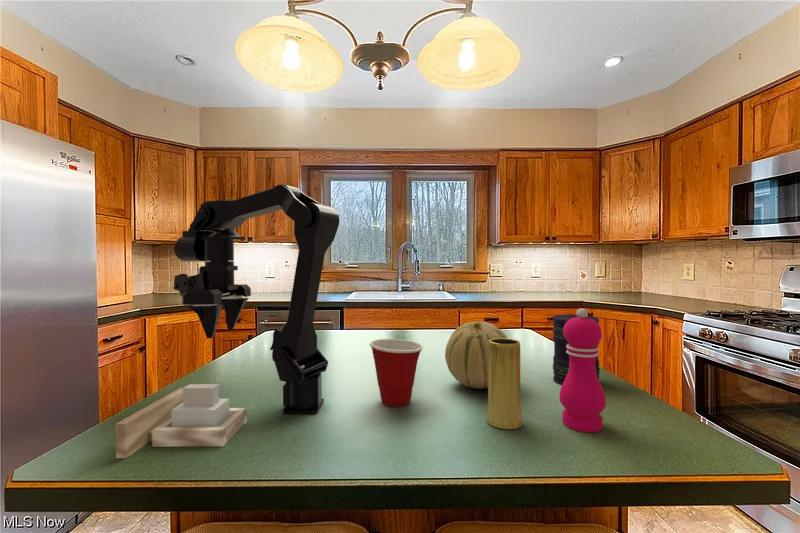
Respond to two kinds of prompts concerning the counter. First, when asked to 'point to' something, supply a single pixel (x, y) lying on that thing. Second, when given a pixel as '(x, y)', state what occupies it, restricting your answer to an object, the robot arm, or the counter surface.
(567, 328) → the pepper mill
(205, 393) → the grey stepped block
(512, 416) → the vase
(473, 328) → the cantaloupe
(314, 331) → the robot arm
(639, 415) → the counter surface
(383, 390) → the plastic cup
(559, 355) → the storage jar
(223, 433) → the stand
